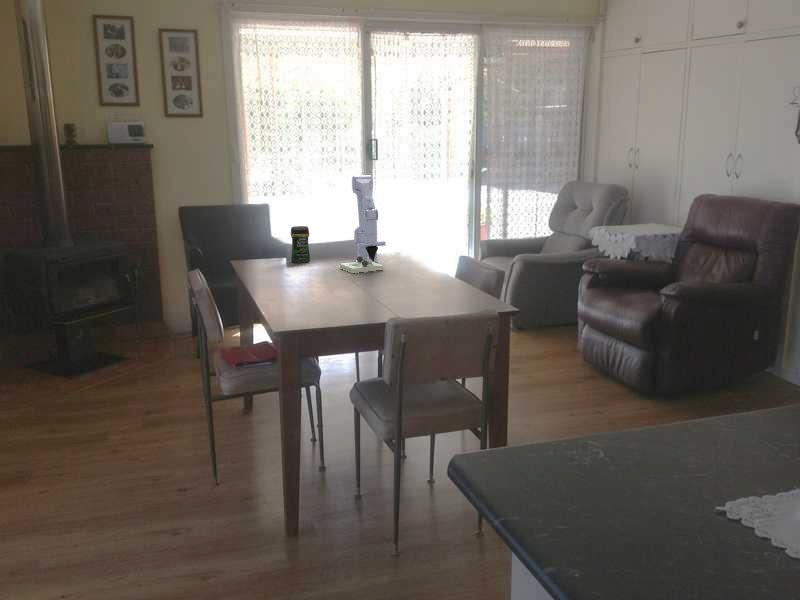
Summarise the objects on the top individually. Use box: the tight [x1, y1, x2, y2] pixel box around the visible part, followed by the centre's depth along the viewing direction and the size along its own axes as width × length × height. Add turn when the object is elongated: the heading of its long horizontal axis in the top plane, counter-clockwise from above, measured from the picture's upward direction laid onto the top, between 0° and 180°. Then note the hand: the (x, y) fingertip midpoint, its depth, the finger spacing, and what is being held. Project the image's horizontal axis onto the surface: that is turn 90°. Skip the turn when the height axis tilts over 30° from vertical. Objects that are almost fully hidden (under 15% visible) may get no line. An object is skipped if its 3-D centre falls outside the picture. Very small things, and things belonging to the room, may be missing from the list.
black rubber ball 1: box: [356, 255, 363, 262], centre depth 359 cm, size 3×3×3 cm
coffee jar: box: [290, 225, 311, 264], centre depth 374 cm, size 10×8×19 cm
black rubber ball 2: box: [362, 260, 368, 267], centre depth 348 cm, size 3×3×3 cm
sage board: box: [339, 261, 384, 274], centre depth 354 cm, size 16×15×2 cm
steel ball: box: [366, 257, 372, 264], centre depth 355 cm, size 3×3×3 cm
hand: (371, 261), depth 356 cm, fingers closed, pressing on steel ball
